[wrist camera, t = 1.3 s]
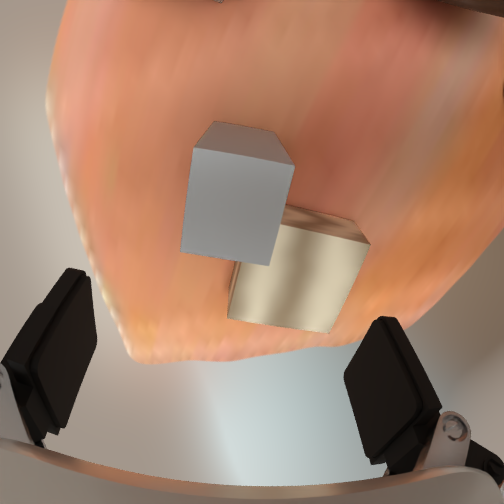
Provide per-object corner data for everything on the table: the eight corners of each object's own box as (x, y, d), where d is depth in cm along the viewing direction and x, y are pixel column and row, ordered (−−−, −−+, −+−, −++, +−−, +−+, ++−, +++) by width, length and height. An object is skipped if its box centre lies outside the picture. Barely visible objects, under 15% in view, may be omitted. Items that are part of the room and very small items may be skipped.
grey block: (273, 131, 31) (295, 165, 18) (259, 195, 34) (269, 266, 22) (214, 120, 30) (193, 147, 18) (203, 186, 33) (180, 252, 21)
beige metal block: (353, 220, 36) (370, 244, 31) (319, 302, 42) (328, 333, 36) (251, 196, 34) (253, 218, 29) (228, 286, 40) (227, 318, 35)
